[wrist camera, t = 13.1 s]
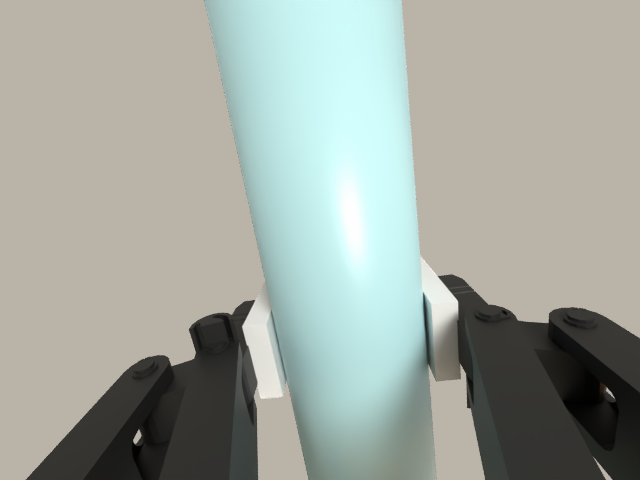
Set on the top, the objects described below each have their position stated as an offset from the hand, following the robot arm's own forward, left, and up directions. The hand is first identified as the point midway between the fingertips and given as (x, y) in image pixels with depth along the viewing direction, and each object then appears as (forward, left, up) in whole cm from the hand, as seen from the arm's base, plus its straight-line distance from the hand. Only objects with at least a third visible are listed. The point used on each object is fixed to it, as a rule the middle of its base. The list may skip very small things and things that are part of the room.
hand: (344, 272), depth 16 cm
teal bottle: (+1, -5, -12) cm, 13 cm away
